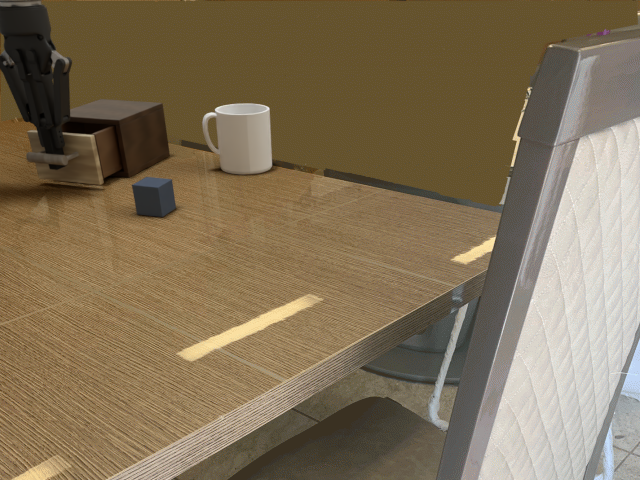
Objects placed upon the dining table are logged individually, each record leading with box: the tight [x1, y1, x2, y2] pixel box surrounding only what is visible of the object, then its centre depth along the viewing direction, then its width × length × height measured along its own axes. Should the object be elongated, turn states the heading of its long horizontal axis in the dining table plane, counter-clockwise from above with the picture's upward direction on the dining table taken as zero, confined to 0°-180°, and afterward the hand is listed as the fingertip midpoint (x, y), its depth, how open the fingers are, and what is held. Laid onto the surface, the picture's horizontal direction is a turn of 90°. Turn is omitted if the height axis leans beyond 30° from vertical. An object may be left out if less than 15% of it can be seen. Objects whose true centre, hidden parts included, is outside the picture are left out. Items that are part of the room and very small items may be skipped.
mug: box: [202, 103, 273, 175], centre depth 120 cm, size 13×10×10 cm
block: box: [131, 176, 177, 218], centre depth 102 cm, size 5×5×5 cm
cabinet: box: [69, 98, 171, 178], centre depth 123 cm, size 16×14×10 cm
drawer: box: [25, 122, 123, 186], centre depth 115 cm, size 20×13×8 cm, turn 162°
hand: (58, 167), depth 110 cm, fingers closed
